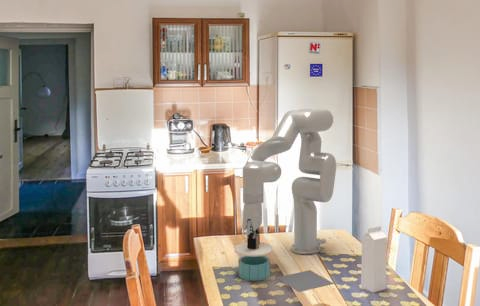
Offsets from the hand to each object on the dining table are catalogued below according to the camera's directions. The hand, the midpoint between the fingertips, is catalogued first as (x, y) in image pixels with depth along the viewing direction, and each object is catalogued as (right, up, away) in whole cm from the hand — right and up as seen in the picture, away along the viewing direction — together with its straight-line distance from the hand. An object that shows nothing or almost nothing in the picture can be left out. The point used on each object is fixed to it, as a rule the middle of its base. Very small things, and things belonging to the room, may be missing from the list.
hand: (253, 246), depth 190 cm
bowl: (0, -11, +2) cm, 11 cm away
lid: (0, -2, 0) cm, 2 cm away
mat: (+18, -12, -5) cm, 22 cm away
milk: (+41, -13, -12) cm, 45 cm away
